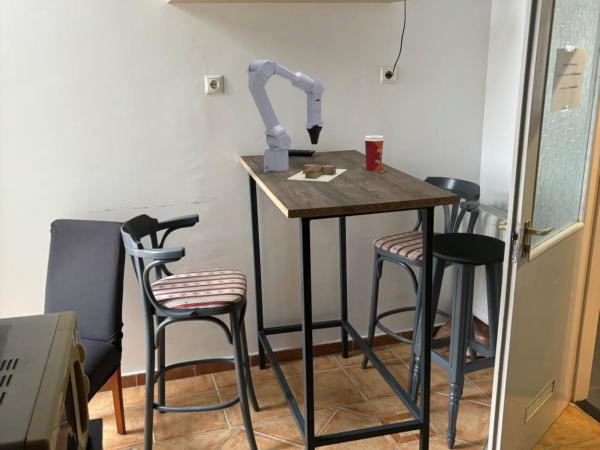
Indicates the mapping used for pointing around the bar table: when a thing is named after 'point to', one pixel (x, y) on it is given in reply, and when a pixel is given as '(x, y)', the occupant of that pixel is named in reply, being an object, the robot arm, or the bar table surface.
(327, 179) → the board
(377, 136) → the paper cup
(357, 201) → the bar table surface
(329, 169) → the t block
